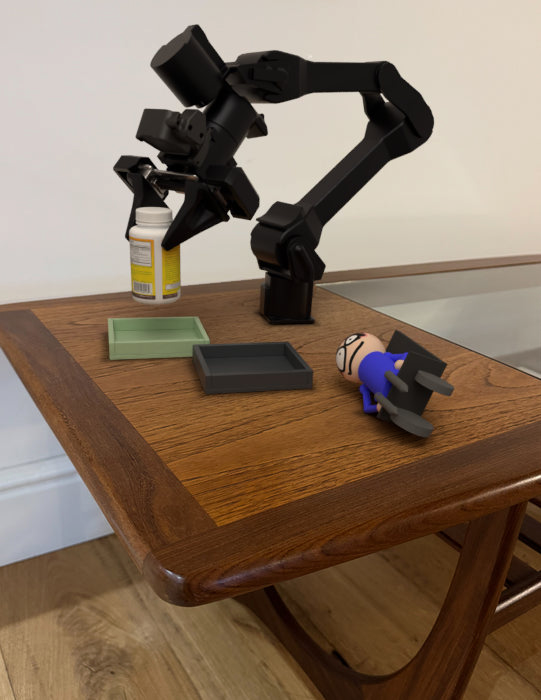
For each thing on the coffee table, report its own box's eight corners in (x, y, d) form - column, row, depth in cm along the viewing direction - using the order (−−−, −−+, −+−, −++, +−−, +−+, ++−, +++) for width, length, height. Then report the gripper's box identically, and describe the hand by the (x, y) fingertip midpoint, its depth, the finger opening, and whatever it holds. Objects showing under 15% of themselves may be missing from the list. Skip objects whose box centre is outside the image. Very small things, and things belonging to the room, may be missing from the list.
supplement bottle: (179, 292, 74) (179, 206, 70) (181, 306, 69) (181, 213, 65) (132, 293, 73) (128, 205, 69) (130, 306, 68) (127, 212, 64)
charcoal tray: (287, 357, 72) (288, 341, 72) (312, 388, 64) (313, 370, 63) (192, 361, 69) (192, 344, 69) (205, 394, 61) (205, 375, 60)
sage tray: (197, 331, 80) (198, 316, 79) (209, 356, 71) (210, 339, 71) (108, 333, 77) (107, 318, 76) (109, 360, 68) (109, 343, 68)
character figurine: (386, 456, 52) (328, 387, 66) (464, 444, 54) (391, 379, 67) (391, 371, 49) (329, 317, 63) (472, 361, 51) (394, 310, 65)
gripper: (122, 81, 71) (45, 185, 67) (246, 82, 60) (164, 205, 56) (173, 152, 80) (108, 248, 75) (289, 163, 69) (221, 275, 65)
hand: (145, 244), depth 68 cm, fingers closed on supplement bottle, 5 cm apart
